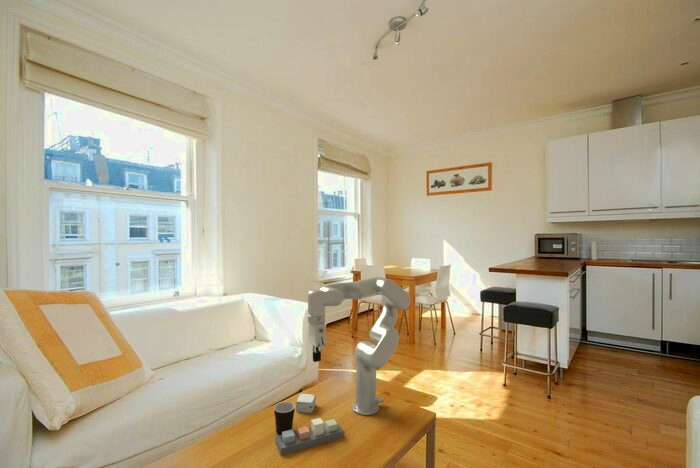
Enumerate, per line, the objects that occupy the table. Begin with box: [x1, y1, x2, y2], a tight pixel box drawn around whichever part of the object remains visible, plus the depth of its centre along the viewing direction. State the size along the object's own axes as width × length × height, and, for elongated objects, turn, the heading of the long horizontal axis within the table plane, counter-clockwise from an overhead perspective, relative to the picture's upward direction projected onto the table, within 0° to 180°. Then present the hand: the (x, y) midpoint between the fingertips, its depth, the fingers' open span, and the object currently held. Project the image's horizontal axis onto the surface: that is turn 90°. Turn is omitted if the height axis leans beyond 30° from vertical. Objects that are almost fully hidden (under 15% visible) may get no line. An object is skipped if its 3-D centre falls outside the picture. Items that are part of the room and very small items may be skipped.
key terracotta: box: [296, 425, 310, 440], centre depth 127 cm, size 4×4×4 cm
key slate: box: [282, 429, 295, 445], centre depth 125 cm, size 4×4×4 cm
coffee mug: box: [273, 401, 296, 436], centre depth 136 cm, size 12×9×10 cm
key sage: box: [324, 418, 339, 433], centre depth 133 cm, size 4×4×4 cm
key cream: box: [310, 417, 325, 436], centre depth 130 cm, size 4×4×4 cm
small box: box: [295, 393, 317, 414], centre depth 153 cm, size 8×8×5 cm
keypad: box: [275, 421, 345, 456], centre depth 129 cm, size 26×8×2 cm, turn 117°
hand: (316, 360), depth 140 cm, fingers closed
